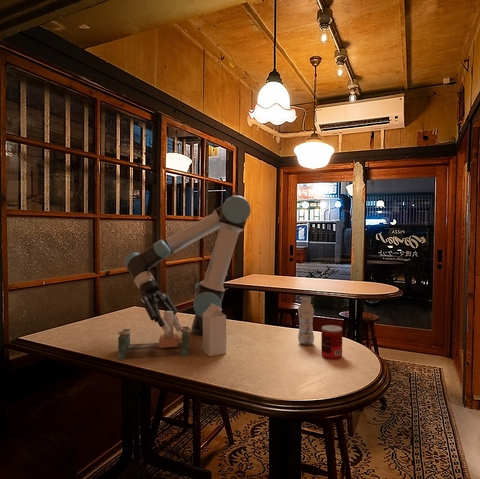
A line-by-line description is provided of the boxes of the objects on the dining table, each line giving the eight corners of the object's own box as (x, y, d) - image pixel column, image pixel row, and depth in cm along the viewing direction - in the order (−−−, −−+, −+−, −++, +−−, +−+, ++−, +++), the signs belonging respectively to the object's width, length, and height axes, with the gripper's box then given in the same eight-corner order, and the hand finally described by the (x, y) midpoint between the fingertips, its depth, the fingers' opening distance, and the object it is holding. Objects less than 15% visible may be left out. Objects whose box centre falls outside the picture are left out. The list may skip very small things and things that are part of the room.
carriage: (178, 341, 144) (177, 309, 143) (177, 346, 137) (177, 313, 136) (160, 341, 143) (160, 310, 142) (159, 347, 136) (158, 314, 135)
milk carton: (209, 356, 134) (209, 307, 133) (202, 351, 140) (202, 303, 140) (226, 353, 137) (226, 305, 136) (218, 348, 143) (218, 302, 143)
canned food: (343, 354, 136) (343, 326, 136) (340, 361, 129) (340, 331, 129) (323, 351, 140) (323, 324, 139) (319, 358, 132) (319, 329, 132)
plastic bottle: (314, 347, 145) (314, 298, 144) (297, 346, 146) (297, 298, 145) (314, 342, 151) (314, 295, 150) (298, 341, 152) (298, 295, 152)
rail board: (191, 345, 147) (190, 325, 147) (191, 355, 135) (191, 333, 135) (121, 348, 143) (121, 328, 143) (115, 359, 131) (115, 337, 131)
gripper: (159, 288, 155) (185, 332, 146) (124, 293, 140) (151, 342, 131) (168, 277, 152) (195, 321, 143) (133, 281, 137) (161, 330, 128)
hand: (174, 331), depth 137 cm, fingers open, 5 cm apart
